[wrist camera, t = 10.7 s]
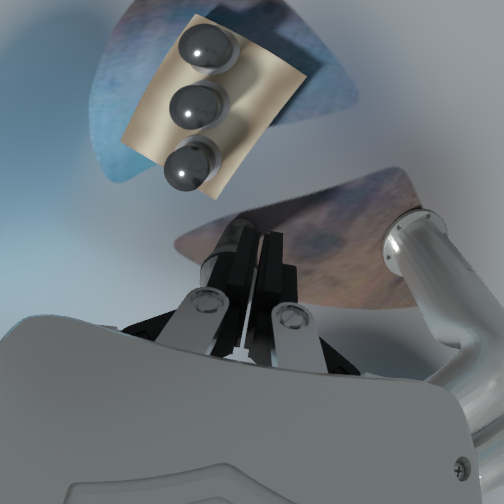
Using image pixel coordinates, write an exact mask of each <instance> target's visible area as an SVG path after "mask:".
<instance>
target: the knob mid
mask: <svg viewBox="0 0 504 504" xmlns="http://www.w3.org/2000/svg"><path fill="white" fill-rule="evenodd" d="M223 107H224V102H223V98H222V96H221V94H220V93H219V92H218V91H217V90H216V89H214V88H212V87H209V86H201V85H188V86H184V87H182V88H180V89H179V90H178V91H177V92H176V93H175V94H174V95H173V96H172V98H171V101H170V104H169V112H170V116H171V118H172V120H173V121H174V123H175V124H176V125H178V126H179V127H181V128H183V129H187V130H196V129H199V128H202V127H204V126H206V125H208V124H210V123H212V122H214V121H215V120H217V119H218V118H219V117H220V115H221V113H222V111H223Z"/></svg>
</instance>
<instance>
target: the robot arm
mask: <svg viewBox="0 0 504 504" xmlns="http://www.w3.org/2000/svg"><path fill="white" fill-rule="evenodd" d="M260 234H261V232H256V228H252V227H247V226H244V227H243V230H242V234H241V237H240V240H239V243H238V247H237V250H236V253H235V255H234V254H229V253H223V252H220V253H219V255H218V257H217V260H216V263H215V265H214V268H213V270H212V273H211V275H210V278H209V281H208V283H207V286H206V287H200V288H196V289H194V290H192V291H190V293H188V294H187V296H186V297H185V299H184V300H183V301H182V303H181V304H180V306H179V307H178V309H176V310H173V311H170V312H168V313H165V314H162V315H159V316H156V317H153V318H151V319H148V320H145V321H143V322H139V323H136V324H133V325H131V326H128V327H126V328H124V329H123V330H122V331H121V330H118V328H117V327H113V326H104V325H96V324H92V323H89V322H86V321H83V320H79V319H75V318H70V317H66V316H59V315H34V316H29V317H26V318H24V319H22V320H21V321H19V322H18V323H17V324H16V325H14V327H12V328H11V329H10V330H9V331H8V332H7V334H6V335H5V336H4V337H3V338H2V339H1V341H0V504H482V497H481V496H482V495H484V494H486V493H488V492H490V491H492V490H494V489H496V488H498V487H500V486H502V485H504V308H503V307H502V306H501V304H500V303H499V302H498V300H497V299H496V298H495V296H494V295H493V294H492V293H491V291H490V290H489V289H488V287H487V286H486V285H485V283H484V282H483V281H482V279H481V278H480V277H479V275H478V274H477V273H476V271H475V270H474V269H473V268H472V266H471V265H470V264H469V263H468V262H467V260H466V259H465V258H464V257H463V256H462V254H461V253H460V252H459V251H458V250H457V248H456V247H455V246H454V245H453V244H452V243H451V242H450V240H449V239H448V234H447V228H446V225H445V223H444V221H443V220H442V219H441V218H440V216H439V215H437V214H436V213H435V212H433V211H431V210H427V209H416V210H412V211H409V212H407V213H405V214H403V215H402V216H400V217H399V218H398V219H397V220H396V221H395V222H394V223H393V224H392V225H391V227H390V228H389V229H388V231H387V233H386V235H385V238H384V241H383V246H382V255H383V258H384V261H385V263H386V265H387V267H388V268H389V270H391V271H392V272H393V273H394V274H396V275H398V276H402V277H404V279H405V281H406V283H407V285H408V287H409V289H410V290H411V292H412V294H413V296H414V298H415V300H416V302H417V304H418V306H419V308H420V310H421V312H422V315H423V317H424V319H425V321H426V323H427V325H428V327H429V329H430V331H431V333H432V335H433V336H434V337H435V339H436V340H438V341H439V342H440V343H442V344H444V345H446V346H449V347H452V348H456V349H460V351H459V353H458V354H457V355H456V356H455V357H454V358H452V359H451V360H450V361H449V362H448V363H447V364H446V365H445V366H443V367H442V368H441V369H440V370H438V371H437V372H436V373H434V374H433V375H432V376H430V377H429V378H428V379H426V380H425V381H418V380H411V379H400V378H386V377H381V376H378V375H374V374H370V373H365V374H364V375H362V374H360V372H359V371H358V369H357V368H355V366H354V365H352V364H351V363H350V362H349V361H348V360H346V359H345V358H344V357H343V356H342V355H340V354H339V353H338V352H337V351H336V350H334V349H333V348H332V347H331V346H330V345H329V344H327V343H326V342H325V341H324V340H323V339H322V338H320V337H319V336H318V332H317V329H316V325H315V321H314V318H313V316H312V314H311V312H310V311H309V310H308V309H307V308H305V307H304V306H302V305H299V304H298V295H297V269H296V266H293V265H288V264H282V256H283V233H279V232H273V231H270V234H266V233H265V235H264V240H263V245H262V250H261V255H260V260H259V265H258V270H257V275H256V280H255V285H254V291H253V297H252V303H251V309H250V315H249V321H248V327H247V333H246V339H245V345H244V348H245V349H249V354H248V357H250V358H251V359H252V360H253V361H254V362H255V363H256V364H253V363H247V362H242V361H236V360H231V359H226V358H223V357H225V356H227V355H229V354H233V349H234V347H240V342H241V337H242V331H243V327H244V321H245V316H246V311H247V306H248V301H249V296H250V291H251V285H252V280H253V274H254V268H255V263H256V257H257V251H258V246H259V240H260ZM502 413H503V414H502ZM501 414H502V415H501ZM500 415H501V416H500ZM498 416H499V417H498ZM497 417H498V418H497ZM494 419H495V420H494ZM491 421H492V422H491ZM490 422H491V423H490ZM488 423H489V424H488ZM487 424H488V425H487ZM485 425H486V426H485ZM484 426H485V427H484ZM482 427H483V428H482ZM480 428H482V429H480ZM479 429H480V430H479ZM477 430H478V431H477ZM475 431H477V432H475ZM474 432H475V433H474ZM472 433H474V434H472ZM471 434H472V435H471Z"/></svg>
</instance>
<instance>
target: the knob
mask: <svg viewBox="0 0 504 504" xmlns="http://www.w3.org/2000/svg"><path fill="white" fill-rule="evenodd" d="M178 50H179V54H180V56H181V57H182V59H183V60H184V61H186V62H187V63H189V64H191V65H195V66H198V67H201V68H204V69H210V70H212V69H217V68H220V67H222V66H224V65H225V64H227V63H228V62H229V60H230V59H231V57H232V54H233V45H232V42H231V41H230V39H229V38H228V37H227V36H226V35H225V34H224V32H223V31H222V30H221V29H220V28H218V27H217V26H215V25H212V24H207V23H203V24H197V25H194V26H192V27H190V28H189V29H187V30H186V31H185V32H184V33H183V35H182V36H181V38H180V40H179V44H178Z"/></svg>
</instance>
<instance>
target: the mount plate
mask: <svg viewBox="0 0 504 504" xmlns="http://www.w3.org/2000/svg"><path fill="white" fill-rule="evenodd" d="M203 23H207V24H212V25H215V26H217V27H218V28H220V29H221V30H222V31H223V32H224V34H225V35H226V36H227V37H228V38H229V39H230V41H231V42H232V45H233V54H232V57H231V59H230V60H229V62H228V63H227V64H225V65H224V66H222V67H220V68H217V69H212V70H210V69H204V68H201V67H198V66H195V65H191V64H189V63H187V62H186V61H184V60H183V59H182V57H181V56H180V54H179V50H178V44H179V40H180V38H181V36H182V35H183V33H184V32H185V31H186V30H187V29H189V28H190V27H192V26H194V25H197V24H203ZM306 77H307V76H305V75H304V74H303V73H301V72H300V71H298V70H297V69H295V68H294V67H292V66H291V65H289V64H288V63H286V62H285V61H283V60H282V59H280V58H279V57H277V56H275V55H274V54H272V53H271V52H269V51H267V50H266V49H264V48H262V47H260V46H259V45H257V44H255V43H254V42H252V41H250V40H248V39H246V38H245V37H243V36H241V35H239V34H237V33H235V32H233V31H231V30H229V29H227V28H225V27H223V26H221V25H219V24H217V23H215V22H213V21H211V20H209V19H206V18H204V17H202V16H200V15H197V14H195V16H194V17H193V18H192V19H191V21H190V22H189V23H188V25H187V26H186V28H185V29H184V30H183V32H182V33H181V35H180V36H179V37H178V39H177V40H176V42H175V43H174V45H173V46H172V48H171V49H170V51H169V52H168V54H167V55H166V57H165V59H164V60H163V62H162V63H161V65H160V67H159V68H158V70H157V72H156V73H155V75H154V77H153V78H152V80H151V82H150V84H149V85H148V87H147V89H146V91H145V93H144V94H143V96H142V98H141V100H140V102H139V104H138V106H137V108H136V110H135V112H134V114H133V116H132V118H131V120H130V122H129V124H128V126H127V128H126V130H125V132H124V135H123V137H122V139H121V141H120V142H122V143H124V144H125V145H127V146H129V147H130V148H132V149H134V150H135V151H137V152H139V153H140V154H142V155H144V156H145V157H147V158H149V159H150V160H152V161H154V162H155V163H157V164H159V165H160V166H162V167H164V164H165V161H166V159H167V157H168V156H169V155H170V154H171V153H172V152H174V151H176V150H177V149H179V148H180V147H182V146H184V145H185V144H187V143H189V142H192V141H200V142H203V143H205V144H207V145H209V146H210V147H211V149H212V150H213V152H214V154H215V158H216V162H215V167H214V169H213V170H212V172H211V173H210V174H209V176H208V177H207V178H206V180H205V181H204V182H203V183H202V185H201V186H200V187H198V188H197V189H199V190H201V191H202V192H204V193H205V194H207V195H208V196H210V197H212V198H213V199H215V200H216V199H217V197H218V196H219V194H220V193H221V191H222V190H223V189H224V187H225V186H226V184H227V183H228V181H229V180H230V178H231V177H232V176H233V174H234V173H235V171H236V170H237V168H238V167H239V166H240V164H241V163H242V161H243V160H244V159H245V157H246V156H247V154H248V153H249V152H250V150H251V149H252V147H253V146H254V145H255V143H256V142H257V141H258V139H259V138H260V136H261V135H262V134H263V132H264V131H265V130H266V128H267V127H268V126H269V124H270V123H271V122H272V120H273V119H274V118H275V117H276V115H277V114H278V113H279V111H280V110H281V109H282V107H283V106H284V105H285V104H286V102H287V101H288V100H289V98H290V97H291V96H292V95H293V93H294V92H295V91H296V90H297V88H298V87H299V86H300V85H301V83H302V82H303V81H304V80H305V78H306ZM188 85H201V86H209V87H212V88H214V89H216V90H217V91H218V92H219V93H220V94H221V96H222V98H223V102H224V107H223V111H222V113H221V115H220V117H219V118H218V119H217V120H215V121H214V122H212V123H210V124H208V125H206V126H204V127H202V128H199V129H196V130H187V129H183V128H181V127H179V126H178V125H176V124H175V123H174V121H173V120H172V118H171V116H170V112H169V104H170V101H171V98H172V96H173V95H174V94H175V93H176V92H177V91H178V90H179V89H180V88H182V87H184V86H188Z"/></svg>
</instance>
